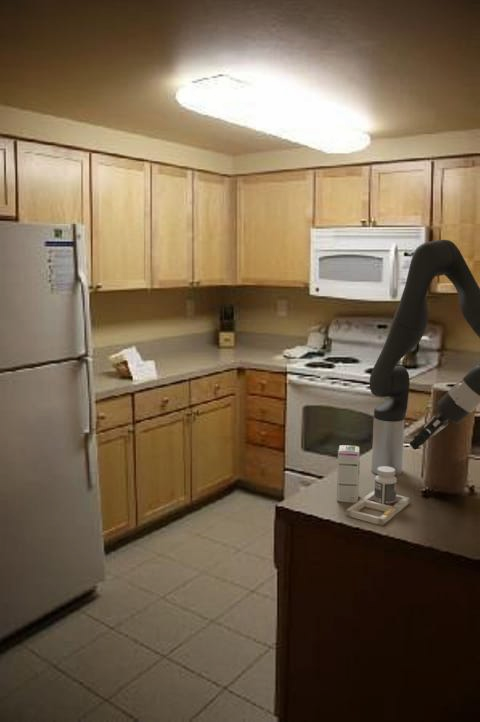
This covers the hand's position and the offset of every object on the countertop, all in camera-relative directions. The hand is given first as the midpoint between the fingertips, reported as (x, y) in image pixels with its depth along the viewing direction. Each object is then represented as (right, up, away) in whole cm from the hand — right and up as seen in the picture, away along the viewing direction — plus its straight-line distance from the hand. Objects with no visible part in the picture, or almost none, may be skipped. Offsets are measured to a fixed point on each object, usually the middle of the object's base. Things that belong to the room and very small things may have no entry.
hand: (416, 444), depth 164 cm
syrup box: (-16, -17, +9) cm, 25 cm away
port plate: (-9, -18, +2) cm, 20 cm away
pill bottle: (-7, -17, +6) cm, 19 cm away
